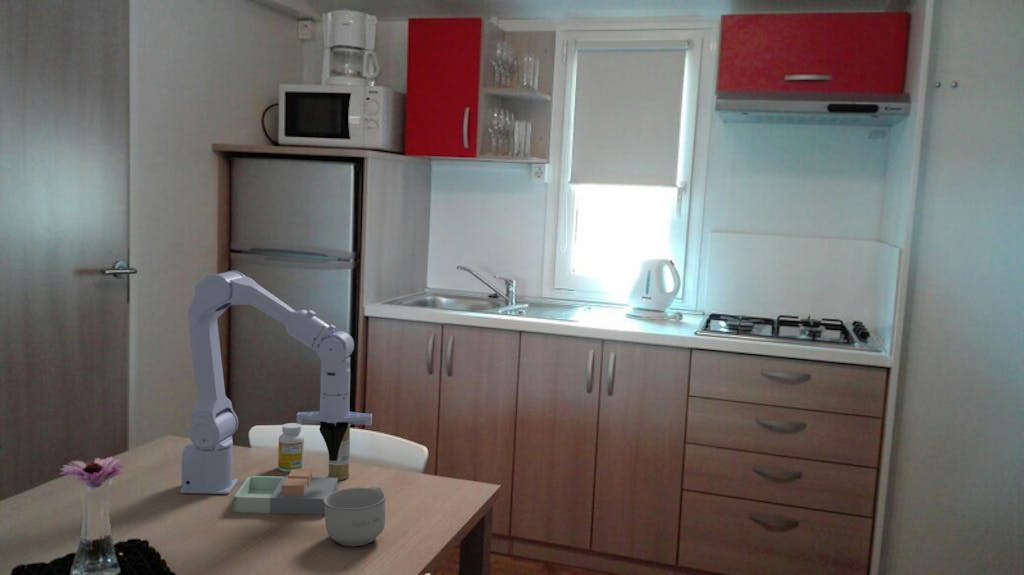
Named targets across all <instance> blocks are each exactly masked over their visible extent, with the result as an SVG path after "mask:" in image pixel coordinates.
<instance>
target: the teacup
mask: <svg viewBox="0 0 1024 575" xmlns="http://www.w3.org/2000/svg"><path fill="white" fill-rule="evenodd" d="M386 499H387V496H386V494H385V492H384V491H383V489H382V487H381V486H378V485H372V486H370V487H349V488H343V489H338V491H335V492H332V493H330V494H328V495H327V496H326V497H325V498H324V505H325V514H324V521H325V522H324V523H325V528H326V531H327V532H326V533H327V534H328V536H329V537H330V538H331V539H332V540H334V541H336V543H338V544H340V545H342V546H345V547H359V546H365V545H367V544H370V543H372V542H373V541H375V540H376V538H377V537H378V536H379V535H381V533H382V532H383V531H384V529H385V525H386Z"/></svg>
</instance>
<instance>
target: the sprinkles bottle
mask: <svg viewBox="0 0 1024 575" xmlns="http://www.w3.org/2000/svg"><path fill="white" fill-rule="evenodd" d="M335 425H336V424H335ZM351 425H352V424H349V426H348V428H347V430H346V432H345V434H344V437H343V439H342V442H341V445H340V449H339V454H338V459H337V461H330V459H329V458H328V473H327V476H328V477H327V478H338V481H342V480H346V479H348V478H349V477H350V458H351V457H350V455H351V452H350V451H351V438H350V436H351V433H350V432H351V429H350V428H351Z"/></svg>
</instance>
